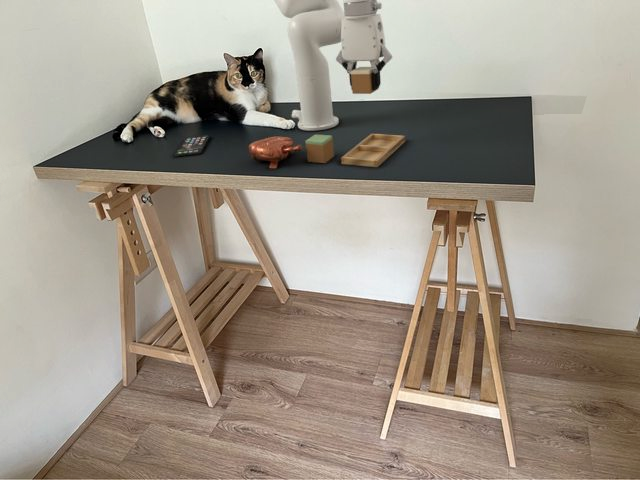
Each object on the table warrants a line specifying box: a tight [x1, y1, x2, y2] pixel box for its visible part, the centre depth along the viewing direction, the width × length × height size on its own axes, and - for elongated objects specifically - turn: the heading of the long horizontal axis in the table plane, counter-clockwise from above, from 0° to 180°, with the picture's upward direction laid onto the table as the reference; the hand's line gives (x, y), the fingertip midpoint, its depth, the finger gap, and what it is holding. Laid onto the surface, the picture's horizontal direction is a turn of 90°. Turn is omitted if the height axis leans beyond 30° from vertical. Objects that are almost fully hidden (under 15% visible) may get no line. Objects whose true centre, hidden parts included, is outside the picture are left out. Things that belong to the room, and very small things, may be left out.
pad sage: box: [305, 134, 335, 164], centre depth 124 cm, size 5×5×6 cm
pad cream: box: [351, 66, 380, 95], centre depth 123 cm, size 5×5×6 cm
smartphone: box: [174, 134, 210, 157], centre depth 145 cm, size 7×1×15 cm
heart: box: [248, 136, 303, 169], centre depth 126 cm, size 6×12×15 cm
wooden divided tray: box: [340, 133, 406, 168], centre depth 125 cm, size 10×18×2 cm, turn 150°
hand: (365, 87), depth 124 cm, fingers closed on pad cream, 5 cm apart
